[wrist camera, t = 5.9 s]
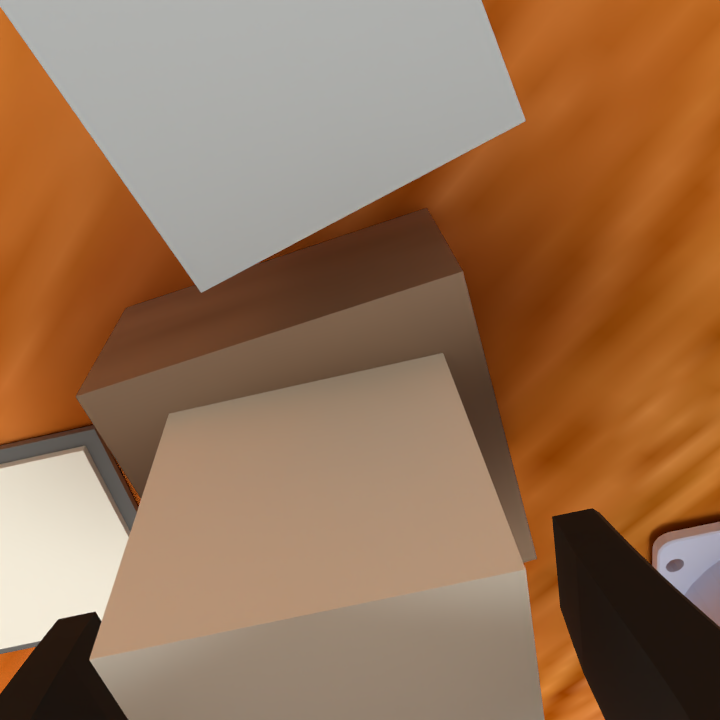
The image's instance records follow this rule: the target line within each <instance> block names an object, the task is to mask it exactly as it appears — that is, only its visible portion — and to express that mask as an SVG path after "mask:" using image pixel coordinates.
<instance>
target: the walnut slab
mask: <svg viewBox="0 0 720 720" xmlns="http://www.w3.org/2000/svg"><path fill="white" fill-rule="evenodd" d="M440 353H443V354H444V357H445V359H446V362H447V365H448V367H449V370H450V372H451V375H452V378H453V380H454V383H455V386H456V388H457V391H458V393H459V396H460V399H461V401H462V404H463V406H464V409H465V412H466V414H467V417H468V420H469V422H470V425H471V427H472V430H473V433H474V435H475V438H476V441H477V443H478V446H479V448H480V451H481V454H482V456H483V459H484V462H485V464H486V467H487V469H488V472H489V475H490V477H491V480H492V482H493V485H494V488H495V490H496V493H497V496H498V498H499V501H500V503H501V506H502V509H503V511H504V514H505V517H506V519H507V522H508V524H509V527H510V530H511V532H512V535H513V537H514V540H515V543H516V545H517V548H518V551H519V553H520V556H521V558H522V561H523V563H524V562H527V561H531V560H534V559H537V557H536V553H535V549H534V545H533V541H532V537H531V534H530V530H529V526H528V522H527V518H526V514H525V510H524V506H523V503H522V499H521V495H520V491H519V487H518V483H517V479H516V475H515V471H514V468H513V464H512V460H511V456H510V452H509V448H508V444H507V440H506V437H505V433H504V429H503V425H502V421H501V417H500V413H499V409H498V405H497V402H496V398H495V394H494V390H493V386H492V382H491V378H490V374H489V371H488V367H487V363H486V359H485V355H484V351H483V347H482V343H481V340H480V336H479V332H478V328H477V324H476V320H475V316H474V312H473V308H472V305H471V301H470V297H469V293H468V289H467V285H466V281H465V277H464V274H463V271H462V269H461V267H460V265H459V264H458V262H457V260H456V258H455V257H454V255H453V253H452V251H451V249H450V248H449V246H448V244H447V242H446V241H445V239H444V237H443V235H442V234H441V232H440V230H439V228H438V227H437V225H436V223H435V221H434V220H433V218H432V216H431V214H430V213H429V211H428V209H427V208H425V209H422V210H419V211H416V212H413V213H410V214H407V215H404V216H401V217H398V218H395V219H392V220H389V221H386V222H383V223H380V224H377V225H374V226H371V227H368V228H365V229H362V230H359V231H356V232H353V233H350V234H347V235H344V236H340V237H337V238H334V239H331V240H328V241H325V242H322V243H319V244H316V245H313V246H310V247H307V248H304V249H301V250H298V251H295V252H292V253H289V254H286V255H283V256H280V257H277V258H274V259H271V260H268V261H265V262H262V263H259V264H256V265H253V266H251V267H249V268H247V269H245V270H243V271H242V272H240V273H238V274H236V275H234V276H232V277H230V278H228V279H226V280H225V281H223V282H221V283H219V284H217V285H215V286H213V287H211V288H209V289H208V290H206V291H204V292H202V293H201V292H200V290H199V289H198V288H197V286H196V285H193V286H190V287H187V288H184V289H181V290H178V291H175V292H172V293H169V294H166V295H163V296H160V297H157V298H154V299H151V300H148V301H145V302H142V303H139V304H136V305H133V306H130V307H127V308H126V309H125V310H124V312H123V314H122V316H121V318H120V319H119V321H118V323H117V325H116V326H115V328H114V330H113V332H112V333H111V335H110V337H109V339H108V340H107V342H106V344H105V346H104V347H103V349H102V351H101V353H100V354H99V356H98V358H97V360H96V362H95V363H94V365H93V367H92V369H91V370H90V372H89V374H88V376H87V377H86V379H85V381H84V383H83V384H82V386H81V388H80V390H79V391H78V393H77V395H76V398H77V400H78V401H79V403H80V404H81V406H82V407H83V409H84V410H85V412H86V414H87V415H88V417H89V418H90V420H91V421H92V423H93V424H94V426H95V428H96V429H97V431H98V432H99V434H100V435H101V437H102V438H103V440H104V442H105V443H106V445H107V446H108V448H109V449H110V451H111V452H112V454H113V456H114V457H115V459H116V460H117V462H118V463H119V465H120V466H121V468H122V470H123V471H124V473H125V474H126V476H127V477H128V479H129V480H130V482H131V484H132V485H133V487H134V488H135V490H136V491H137V493H138V494H139V496H140V498H142V495H143V492H144V489H145V486H146V483H147V480H148V477H149V474H150V470H151V467H152V464H153V461H154V458H155V455H156V452H157V449H158V446H159V443H160V440H161V436H162V433H163V430H164V427H165V424H166V421H167V418H168V415H169V414H170V413H174V412H179V411H183V410H188V409H192V408H197V407H201V406H206V405H210V404H215V403H219V402H224V401H228V400H233V399H237V398H242V397H246V396H251V395H255V394H260V393H264V392H269V391H273V390H278V389H282V388H287V387H291V386H296V385H300V384H305V383H309V382H314V381H318V380H323V379H327V378H332V377H336V376H341V375H345V374H350V373H354V372H359V371H363V370H368V369H372V368H377V367H382V366H386V365H391V364H395V363H400V362H404V361H409V360H413V359H418V358H422V357H427V356H431V355H436V354H440Z"/></svg>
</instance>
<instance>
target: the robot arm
mask: <svg viewBox="0 0 720 720" xmlns="http://www.w3.org/2000/svg"><path fill="white" fill-rule="evenodd" d="M552 519H553V530H554V542H555V553H556V564H557V575H558V587H559V598H560V608H561V611H562V614H563V616H564V619H565V622H566V625H567V628H568V631H569V634H570V637H571V639H572V642H573V645H574V648H575V651H576V653H577V656H578V659H579V662H580V664H581V667H582V670H583V673H584V675H585V677H586V679H587V682H588V684H589V686H590V688H591V690H592V692H593V694H594V697H595V699H596V701H597V703H598V705H599V707H600V709H601V711H602V714H603V716H604V718H605V720H720V522H715V523H710V524H706V525H701V526H696V527H691V528H686V529H681V530H676V531H672V532H668V533H665V534H663V535H661V536H660V537H658V538H657V540H656V541H655V542H654V544H653V549H652V565H651V564H650V563H649V562H648V561H647V560H646V559H645V558H643V557H642V556H641V555H640V554H639V553H638V552H637V551H636V550H635V549H634V548H633V547H632V546H631V545H630V544H629V543H628V542H627V541H626V540H625V539H624V538H623V537H622V536H621V535H620V534H619V533H618V532H617V531H616V529H615V528H614V527H613V526H612V525H611V524H610V523H609V522H608V521H607V520H606V519H605V518H604V517H603V516H602V515H601V514H600V513H599V512H597V511H596V510H594V509H593V508H592V509H587V510H582V511H577V512H572V513H568V514H563V515H558V516H553V517H552ZM101 622H102V621H101V620H100V618H99V617H98V615H97V613H96V612H90V613H86V614H81V615H76V616H71V617H66V618H61V619H58V620H57V621H56V623H55V624H54V625H53V626H52V627H51V629H50V630H49V631H48V632H47V634H46V635H45V636H44V637H43V639H42V640H41V641H40V643H39V644H38V645H37V647H36V648H35V649H34V650H33V652H32V653H31V654H30V656H29V657H28V658H27V660H26V661H25V662H24V664H23V665H22V666H21V668H20V669H19V670H18V671H17V673H16V674H15V675H14V677H13V678H12V679H11V681H10V682H9V683H8V685H7V686H6V687H5V689H4V690H3V691H2V693H1V694H0V720H128V718H127V717H126V715H125V714H124V712H123V711H122V709H121V708H120V706H119V705H118V703H117V702H116V700H115V699H114V697H113V695H112V694H111V692H110V691H109V689H108V688H107V686H106V685H105V683H104V682H103V680H102V679H101V677H100V676H99V674H98V673H97V671H96V669H95V668H94V666H93V665H92V663H91V662H90V660H89V659H90V656H91V653H92V649H93V646H94V643H95V640H96V637H97V634H98V631H99V628H100V625H101Z"/></svg>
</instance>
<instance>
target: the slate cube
mask: <svg viewBox="0 0 720 720" xmlns="http://www.w3.org/2000/svg"><path fill="white" fill-rule="evenodd" d="M0 7H1V8H2V10H3V11H4V13H5V14H6V15H7V17H8V18H9V20H10V21H11V22H12V24H13V25H14V27H15V28H16V30H17V31H18V32H19V34H20V35H21V37H22V38H23V40H24V41H25V42H26V44H27V45H28V47H29V48H30V50H31V51H32V52H33V54H34V55H35V57H36V58H37V60H38V61H39V62H40V64H41V65H42V67H43V68H44V70H45V71H46V72H47V74H48V75H49V77H50V78H51V79H52V81H53V82H54V84H55V85H56V87H57V88H58V89H59V91H60V92H61V94H62V95H63V97H64V98H65V99H66V101H67V102H68V104H69V105H70V107H71V108H72V109H73V111H74V112H75V114H76V115H77V117H78V118H79V119H80V121H81V122H82V124H83V125H84V127H85V128H86V129H87V131H88V132H89V134H90V135H91V137H92V138H93V139H94V141H95V142H96V144H97V145H98V146H99V148H100V149H101V151H102V152H103V154H104V155H105V156H106V158H107V159H108V161H109V162H110V164H111V165H112V166H113V168H114V169H115V171H116V172H117V174H118V175H119V176H120V178H121V179H122V181H123V182H124V184H125V185H126V186H127V188H128V189H129V191H130V192H131V194H132V195H133V196H134V198H135V199H136V201H137V202H138V203H139V205H140V206H141V208H142V209H143V211H144V212H145V213H146V215H147V216H148V218H149V219H150V221H151V222H152V223H153V225H154V226H155V228H156V229H157V231H158V232H159V233H160V235H161V236H162V238H163V239H164V241H165V242H166V243H167V245H168V246H169V248H170V249H171V251H172V252H173V253H174V255H175V256H176V258H177V259H178V261H179V262H180V263H181V265H182V266H183V268H184V269H185V270H186V272H187V273H188V275H189V276H190V278H191V279H192V280H193V282H194V283H195V285H196V286H197V288H198V289H199V290H200V292H201V293H202V292H204V291H206V290H208V289H209V288H211V287H213V286H215V285H217V284H219V283H221V282H223V281H225V280H226V279H228V278H230V277H232V276H234V275H236V274H238V273H240V272H242V271H243V270H245V269H247V268H249V267H251V266H253V265H255V264H257V263H259V262H260V261H262V260H264V259H266V258H268V257H270V256H272V255H274V254H275V253H277V252H279V251H281V250H283V249H285V248H287V247H289V246H291V245H292V244H294V243H296V242H298V241H300V240H302V239H304V238H306V237H308V236H309V235H311V234H313V233H315V232H317V231H319V230H321V229H323V228H325V227H326V226H328V225H330V224H332V223H334V222H336V221H338V220H340V219H342V218H343V217H345V216H347V215H349V214H351V213H353V212H355V211H357V210H359V209H360V208H362V207H364V206H366V205H368V204H370V203H372V202H374V201H376V200H377V199H379V198H381V197H383V196H385V195H387V194H389V193H391V192H393V191H394V190H396V189H398V188H400V187H402V186H404V185H406V184H408V183H409V182H411V181H413V180H415V179H417V178H419V177H421V176H423V175H425V174H426V173H428V172H430V171H432V170H434V169H436V168H438V167H440V166H442V165H443V164H445V163H447V162H449V161H451V160H453V159H455V158H457V157H459V156H460V155H462V154H464V153H466V152H468V151H470V150H472V149H474V148H476V147H477V146H479V145H481V144H483V143H485V142H487V141H489V140H491V139H493V138H494V137H496V136H498V135H500V134H502V133H504V132H506V131H508V130H510V129H511V128H513V127H515V126H517V125H519V124H521V123H523V122H525V121H526V120H525V117H524V115H523V112H522V109H521V107H520V104H519V101H518V98H517V96H516V93H515V90H514V88H513V85H512V82H511V79H510V77H509V74H508V71H507V68H506V66H505V63H504V60H503V58H502V55H501V52H500V49H499V47H498V44H497V41H496V39H495V36H494V33H493V30H492V28H491V25H490V22H489V20H488V17H487V14H486V11H485V9H484V6H483V3H482V1H481V0H0Z"/></svg>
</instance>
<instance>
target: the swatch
mask: <svg viewBox="0 0 720 720" xmlns="http://www.w3.org/2000/svg"><path fill="white" fill-rule="evenodd" d="M137 511H138V506H137V504H136V502H135V500H134V498H133V496H132V494H131V492H130V490H129V488H128V486H127V484H126V482H125V480H124V478H123V476H122V474H121V472H120V470H119V468H118V466H117V464H116V462H115V460H114V458H113V456H112V454H111V452H110V450H109V448H108V446H107V445H106V443H105V442H104V440H103V438H102V437H101V435H100V434H99V432H98V431H97V429H96V428H95V426H94V425H91V426H87V427H82V428H78V429H73V430H68V431H64V432H59V433H55V434H50V435H46V436H41V437H37V438H32V439H28V440H23V441H18V442H14V443H9V444H5V445H0V654H2V653H7V652H12V651H17V650H22V649H27V648H31V647H36V646H37V645H38V644H39V643H40V641H41V640H42V639H43V637H44V636H45V635H46V634H47V632H48V631H49V630H50V629H51V627H52V626H53V625H54V624H55V623H56V621H57V620H58V619H61V618H66V617H71V616H76V615H81V614H86V613H90V612H96V613H97V615H98V617H99V618H100V620H101V621H102V619H103V616H104V612H105V609H106V606H107V603H108V600H109V597H110V594H111V591H112V588H113V585H114V582H115V578H116V575H117V572H118V569H119V566H120V563H121V560H122V557H123V554H124V551H125V548H126V545H127V541H128V538H129V535H130V532H131V529H132V526H133V523H134V520H135V517H136V514H137Z"/></svg>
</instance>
